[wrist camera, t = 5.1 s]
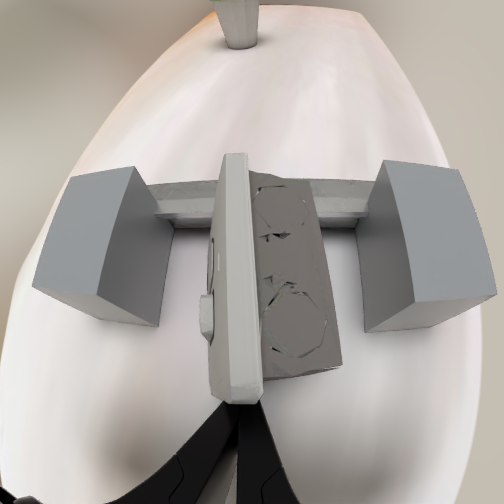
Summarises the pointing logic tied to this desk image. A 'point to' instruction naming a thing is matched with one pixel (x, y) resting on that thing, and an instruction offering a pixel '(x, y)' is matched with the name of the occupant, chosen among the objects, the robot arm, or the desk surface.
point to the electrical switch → (265, 285)
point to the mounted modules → (367, 232)
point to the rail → (324, 190)
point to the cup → (238, 21)
